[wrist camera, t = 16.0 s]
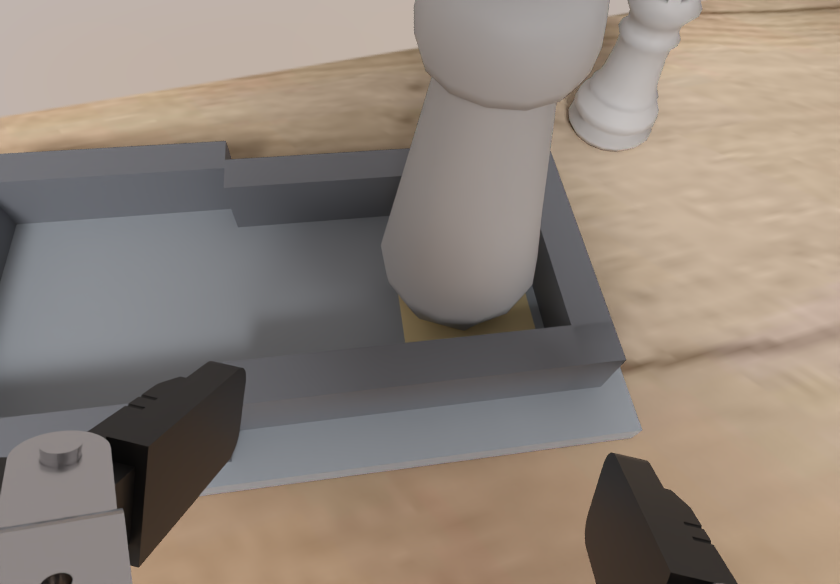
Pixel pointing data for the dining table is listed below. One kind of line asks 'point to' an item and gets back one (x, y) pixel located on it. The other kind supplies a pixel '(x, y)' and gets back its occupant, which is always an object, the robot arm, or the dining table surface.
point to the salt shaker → (483, 150)
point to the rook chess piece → (630, 76)
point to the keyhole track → (283, 314)
